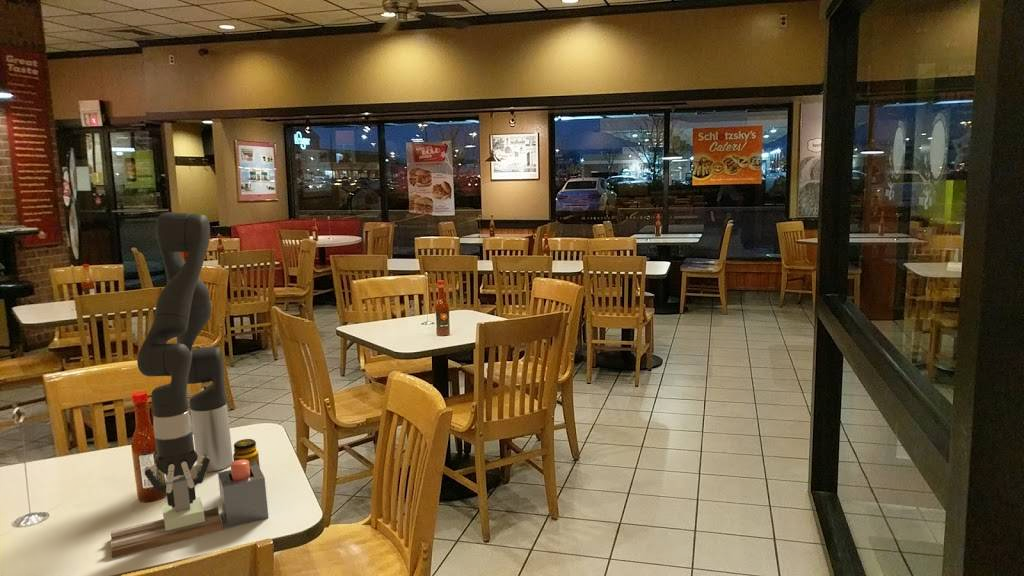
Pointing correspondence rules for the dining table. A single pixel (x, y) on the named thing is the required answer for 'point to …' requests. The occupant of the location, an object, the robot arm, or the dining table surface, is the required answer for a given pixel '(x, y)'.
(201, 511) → the carriage
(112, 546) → the rail track
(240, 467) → the plunger
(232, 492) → the cabinet
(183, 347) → the robot arm
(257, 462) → the condiment
